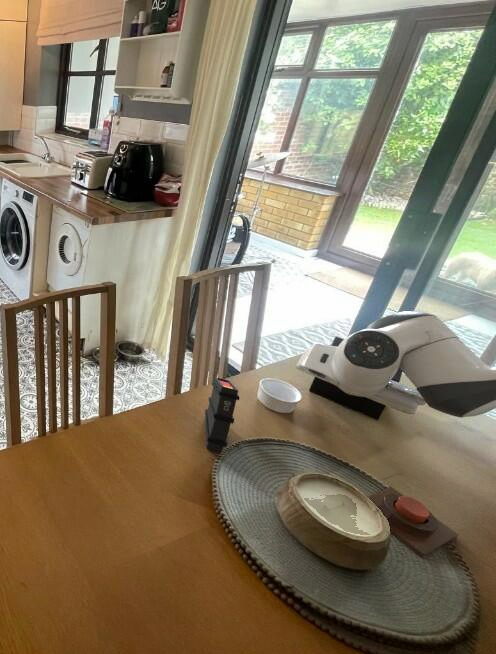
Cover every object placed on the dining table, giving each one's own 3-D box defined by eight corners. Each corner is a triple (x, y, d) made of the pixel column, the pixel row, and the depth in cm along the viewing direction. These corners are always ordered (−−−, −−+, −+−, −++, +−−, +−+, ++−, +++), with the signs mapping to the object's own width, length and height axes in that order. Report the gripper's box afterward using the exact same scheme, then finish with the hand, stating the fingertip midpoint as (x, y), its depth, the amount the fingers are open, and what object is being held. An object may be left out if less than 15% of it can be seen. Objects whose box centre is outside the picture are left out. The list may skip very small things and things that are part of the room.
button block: (451, 544, 72) (464, 528, 70) (416, 564, 69) (429, 548, 67) (384, 495, 81) (394, 479, 79) (351, 511, 78) (361, 495, 76)
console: (377, 420, 99) (399, 381, 94) (308, 390, 108) (325, 353, 103) (385, 397, 106) (405, 360, 101) (319, 371, 116) (335, 336, 111)
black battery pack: (206, 454, 87) (220, 386, 87) (199, 434, 100) (212, 375, 99) (226, 460, 86) (240, 391, 86) (217, 440, 98) (229, 379, 98)
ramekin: (287, 394, 107) (293, 381, 105) (302, 418, 99) (308, 404, 98) (250, 388, 109) (254, 375, 107) (261, 411, 101) (267, 398, 99)
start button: (430, 519, 72) (435, 512, 71) (416, 526, 71) (421, 520, 70) (403, 499, 76) (407, 493, 75) (389, 506, 74) (393, 499, 74)
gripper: (436, 385, 77) (418, 401, 87) (306, 338, 91) (303, 357, 101) (423, 414, 76) (406, 427, 86) (294, 363, 90) (292, 379, 100)
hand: (350, 389), depth 93 cm, fingers closed
